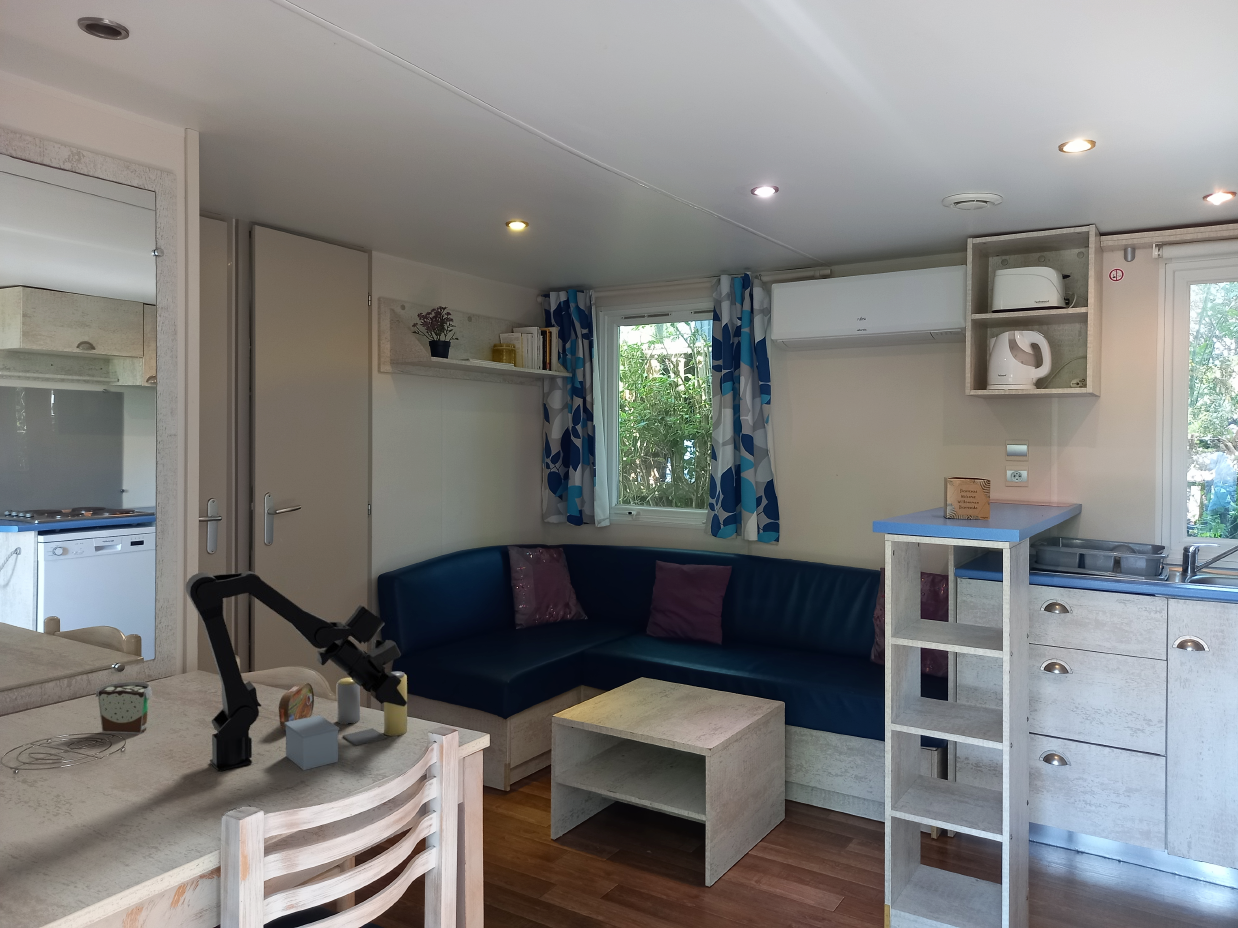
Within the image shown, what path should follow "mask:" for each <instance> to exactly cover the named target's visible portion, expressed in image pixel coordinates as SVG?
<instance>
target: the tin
mask: <svg viewBox="0 0 1238 928" xmlns="http://www.w3.org/2000/svg"><path fill="white" fill-rule="evenodd" d="M314 695H315V694H314V688H313V686H312V685H311V683H309V682H305V683H297V684H295V685H294V686H293V687H292V688H290V689H289V690H288V691H287V692H285V693H284V694H283V695H282V696H281V698H280V700H279V703H278V718H279V725H280V728H281V729H282V730H284V731H286V726H285V725H284V723H285V722H289V721H294V720H299V719H304V718H308V717H312V714H313V710H314V705H315V696H314Z"/></svg>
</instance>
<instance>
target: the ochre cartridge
mask: <svg viewBox="0 0 1238 928" xmlns="http://www.w3.org/2000/svg"><path fill="white" fill-rule="evenodd" d="M390 672H391V673H393V674H394V675H396V676H397V677H398V678H399V679H400V680H401V683H400V684H399V686H398V687H397V689H398V690H399V692H400V693H401V695H402V696H403V697H404V699H405V700H406V702H407V704H406V705H405V706H404V707H403V706H399V705H395V704H391V703H386V702H384V703H383V734H384V735H385V736H400V735H404V734H406V733H407V732H408V684H407V683H408V681H407V680H408V679H407V678H408V677H407V674H405V672H402V671H390Z"/></svg>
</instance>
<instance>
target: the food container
mask: <svg viewBox="0 0 1238 928" xmlns="http://www.w3.org/2000/svg"><path fill="white" fill-rule="evenodd" d="M152 695H153V691H152V687H151V686H150V683H148V682H145V681H124V682H117V683H110V684H105V685H103V686H99V687H97V690H95V698H97V699H98V707H99V714H100V715H99V717H100V725H101V733H110V734H112V733H114V734H135V735H137V734H139V735H141V734H143V733H144V732H146V730H147V724H148V723H147V722H148V710H149V699H150V697H152Z"/></svg>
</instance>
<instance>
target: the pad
mask: <svg viewBox="0 0 1238 928" xmlns="http://www.w3.org/2000/svg"><path fill="white" fill-rule="evenodd" d="M343 737H344V738H343ZM342 738H343V739H345V740H346V739H347V741H348V742H349V741H350V742H349V743H350V744H352V743H353V745H354V746H355V745H357V746H361V745H365V744H370V743H373V742H377V741H381V740H385V739H387V735H386V734H384V733H381V732H379V731H378V730H377V729H375V728H374V727H373V728H368V729H364V730H358V731H355V732H351V733H346V734H343V735H342Z"/></svg>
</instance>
